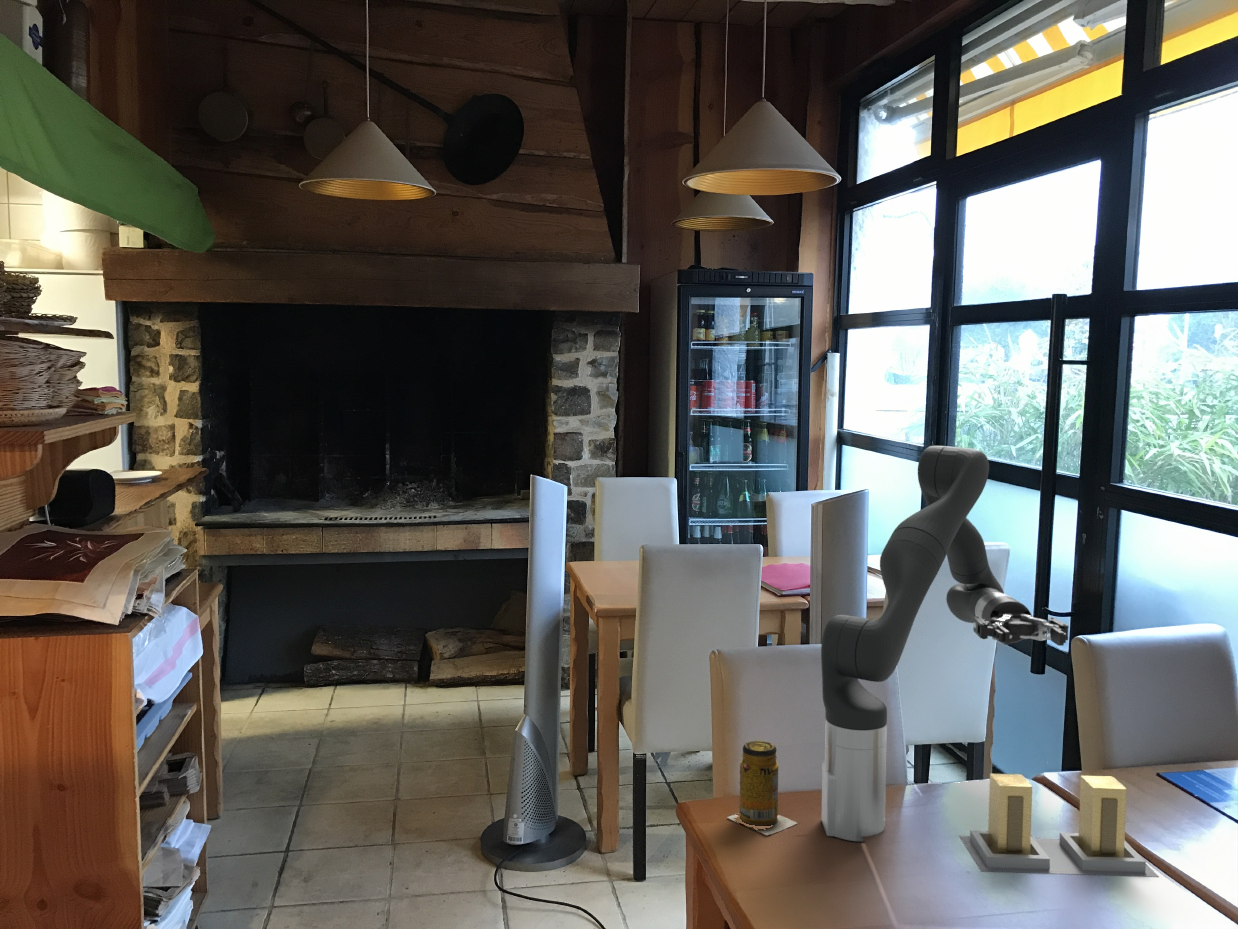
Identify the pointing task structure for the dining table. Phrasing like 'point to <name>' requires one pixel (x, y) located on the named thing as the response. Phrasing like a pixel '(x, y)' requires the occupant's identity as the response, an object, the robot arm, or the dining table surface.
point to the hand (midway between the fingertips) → (1034, 639)
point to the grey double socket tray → (1054, 858)
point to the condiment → (760, 788)
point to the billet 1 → (1009, 814)
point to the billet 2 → (1102, 816)
